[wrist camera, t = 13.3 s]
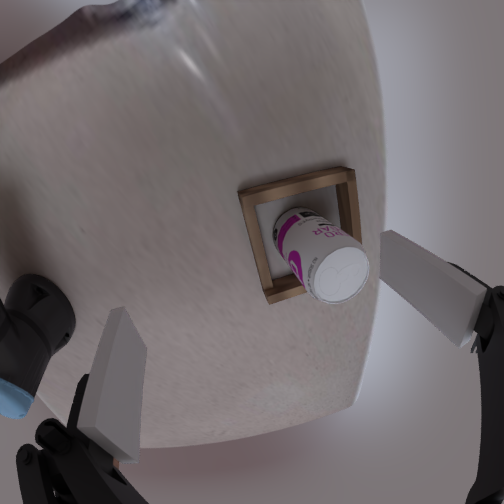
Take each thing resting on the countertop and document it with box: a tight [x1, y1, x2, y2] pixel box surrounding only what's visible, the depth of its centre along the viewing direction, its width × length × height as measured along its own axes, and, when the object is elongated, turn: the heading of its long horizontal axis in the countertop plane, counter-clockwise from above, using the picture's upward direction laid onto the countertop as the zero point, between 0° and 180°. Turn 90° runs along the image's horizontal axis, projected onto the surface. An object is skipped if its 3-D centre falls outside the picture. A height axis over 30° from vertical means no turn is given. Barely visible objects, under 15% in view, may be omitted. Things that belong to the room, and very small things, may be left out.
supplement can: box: [273, 207, 369, 304], centre depth 35 cm, size 8×8×15 cm
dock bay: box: [237, 166, 362, 305], centre depth 40 cm, size 16×17×4 cm
